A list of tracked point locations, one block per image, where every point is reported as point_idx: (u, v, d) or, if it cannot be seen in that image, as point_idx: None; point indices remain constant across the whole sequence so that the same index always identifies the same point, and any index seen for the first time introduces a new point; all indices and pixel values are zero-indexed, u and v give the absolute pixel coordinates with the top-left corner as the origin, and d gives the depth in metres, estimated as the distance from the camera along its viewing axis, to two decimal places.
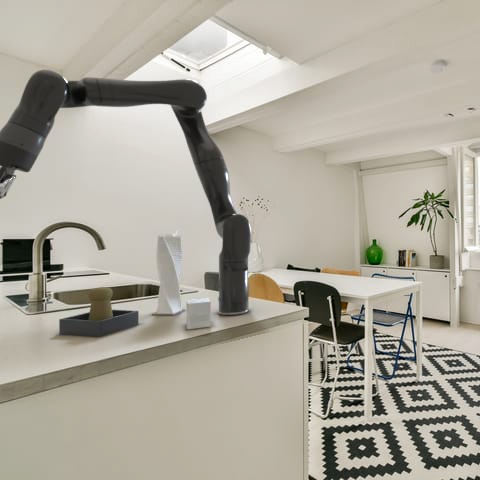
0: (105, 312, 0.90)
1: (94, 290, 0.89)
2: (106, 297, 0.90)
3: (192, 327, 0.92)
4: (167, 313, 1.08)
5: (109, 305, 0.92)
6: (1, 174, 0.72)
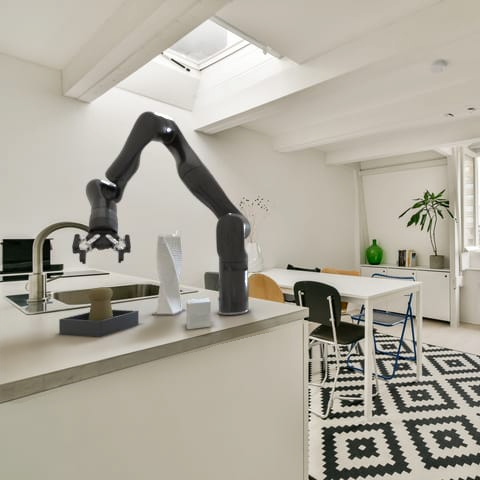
0: (105, 312, 0.90)
1: (94, 290, 0.89)
2: (106, 297, 0.90)
3: (192, 327, 0.92)
4: (167, 313, 1.08)
5: (109, 305, 0.92)
6: (74, 238, 1.00)
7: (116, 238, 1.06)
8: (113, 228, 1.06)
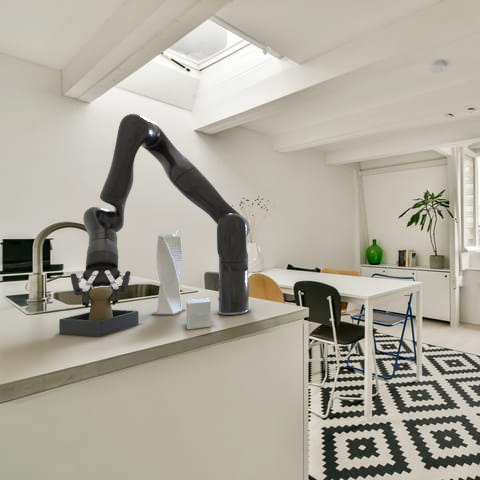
0: (105, 312, 0.90)
1: (94, 290, 0.89)
2: (105, 297, 0.90)
3: (192, 327, 0.92)
4: (167, 313, 1.08)
5: (109, 305, 0.92)
6: (71, 279, 0.90)
7: (116, 274, 0.97)
8: (113, 262, 0.97)
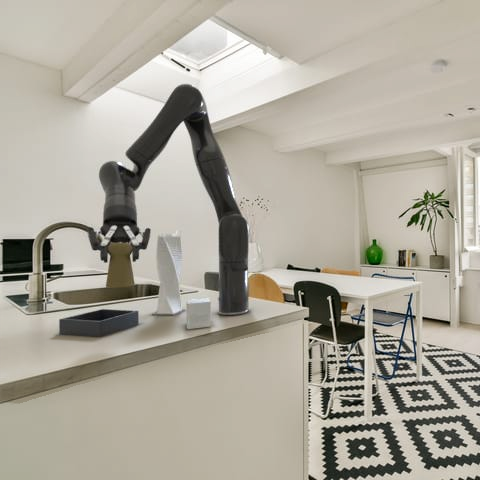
0: (125, 269, 0.83)
1: (113, 244, 0.82)
2: (126, 252, 0.83)
3: (192, 327, 0.92)
4: (167, 313, 1.08)
5: (129, 262, 0.84)
6: (88, 233, 0.83)
7: (136, 230, 0.89)
8: (132, 218, 0.90)
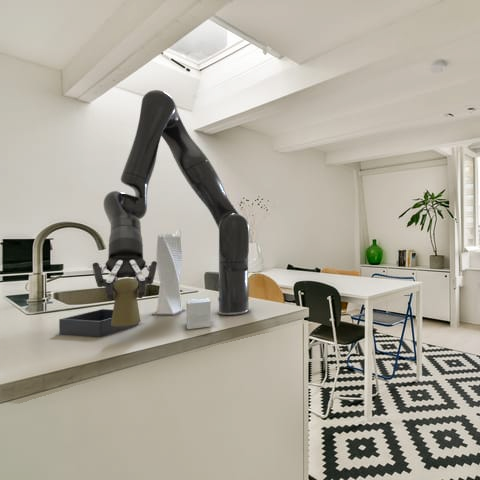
0: (131, 306, 0.81)
1: (119, 281, 0.80)
2: (132, 289, 0.81)
3: (192, 327, 0.92)
4: (167, 313, 1.08)
5: (135, 298, 0.82)
6: (94, 269, 0.81)
7: (142, 264, 0.87)
8: (138, 251, 0.88)
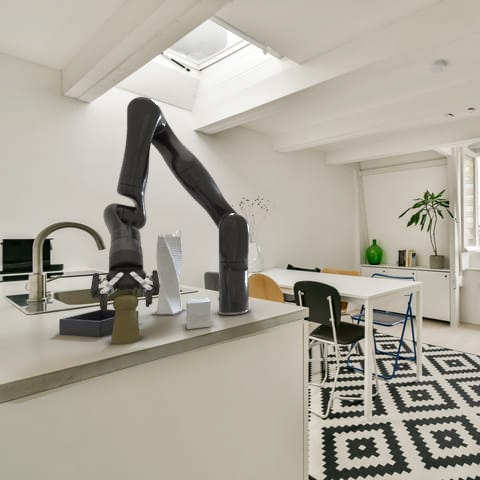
0: (131, 323, 0.81)
1: (119, 299, 0.80)
2: (131, 307, 0.81)
3: (192, 327, 0.92)
4: (167, 313, 1.08)
5: (135, 315, 0.82)
6: (92, 279, 0.82)
7: (142, 276, 0.88)
8: (138, 263, 0.88)
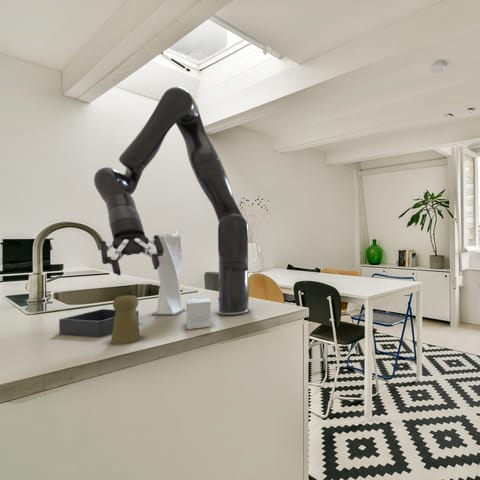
0: (131, 323, 0.81)
1: (119, 299, 0.80)
2: (131, 307, 0.81)
3: (192, 327, 0.92)
4: (167, 313, 1.08)
5: (135, 315, 0.82)
6: None
7: (145, 241, 0.95)
8: (140, 230, 0.95)
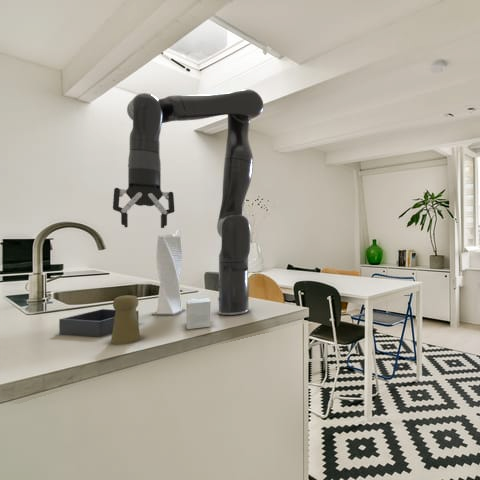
0: (131, 323, 0.81)
1: (119, 299, 0.80)
2: (131, 307, 0.81)
3: (192, 327, 0.92)
4: (167, 313, 1.08)
5: (135, 315, 0.82)
6: (114, 194, 0.87)
7: (159, 197, 0.93)
8: (156, 185, 0.92)
